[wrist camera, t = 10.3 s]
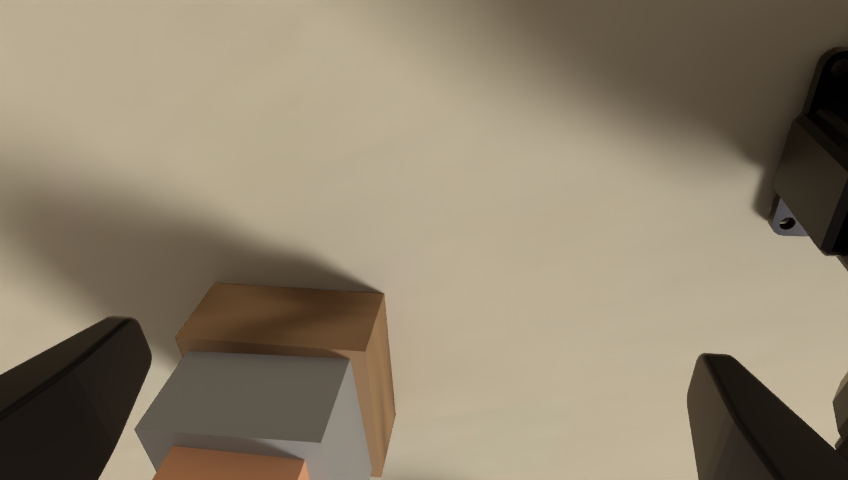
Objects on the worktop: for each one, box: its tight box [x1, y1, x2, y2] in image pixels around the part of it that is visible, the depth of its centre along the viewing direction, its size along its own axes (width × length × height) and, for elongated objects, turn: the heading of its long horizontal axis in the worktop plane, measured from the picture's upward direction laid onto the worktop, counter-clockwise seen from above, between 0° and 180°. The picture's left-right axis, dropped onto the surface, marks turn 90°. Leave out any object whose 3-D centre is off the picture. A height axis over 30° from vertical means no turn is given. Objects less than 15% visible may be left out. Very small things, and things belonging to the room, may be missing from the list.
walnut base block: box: [175, 283, 396, 477], centre depth 27 cm, size 8×8×4 cm
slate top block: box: [134, 351, 372, 480], centre depth 24 cm, size 7×7×4 cm
